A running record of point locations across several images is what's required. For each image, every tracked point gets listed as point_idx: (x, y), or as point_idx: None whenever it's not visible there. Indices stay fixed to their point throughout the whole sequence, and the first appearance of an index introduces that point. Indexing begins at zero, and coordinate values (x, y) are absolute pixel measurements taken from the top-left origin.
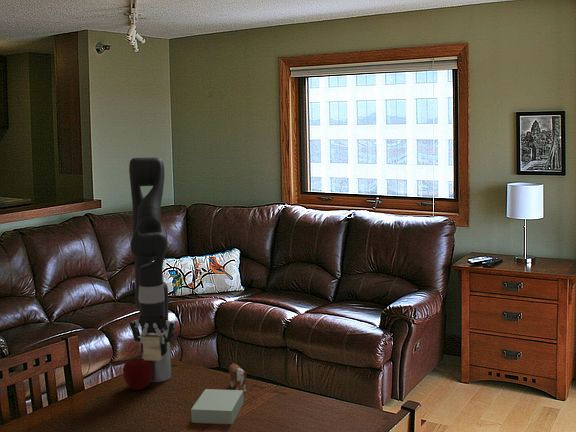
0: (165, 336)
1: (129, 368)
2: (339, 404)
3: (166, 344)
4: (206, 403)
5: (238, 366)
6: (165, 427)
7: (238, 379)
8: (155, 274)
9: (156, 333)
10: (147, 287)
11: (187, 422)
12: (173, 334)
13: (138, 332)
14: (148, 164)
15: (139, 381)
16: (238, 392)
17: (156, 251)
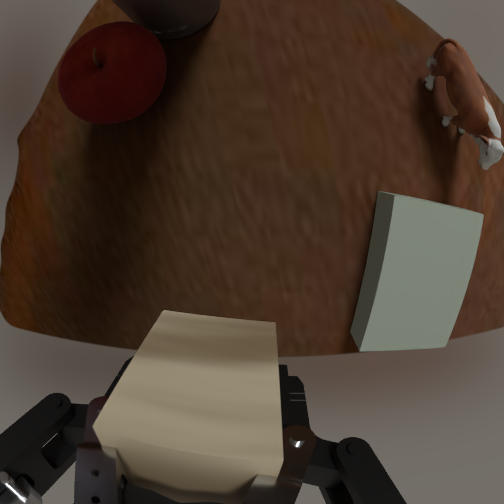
0: (304, 471)
1: (79, 113)
2: None
3: (305, 426)
4: (399, 313)
5: (476, 73)
6: (289, 356)
7: (485, 169)
8: None
9: (197, 468)
10: None
11: (339, 330)
12: (383, 475)
13: (43, 441)
14: None
15: (134, 117)
16: (474, 229)
17: None
